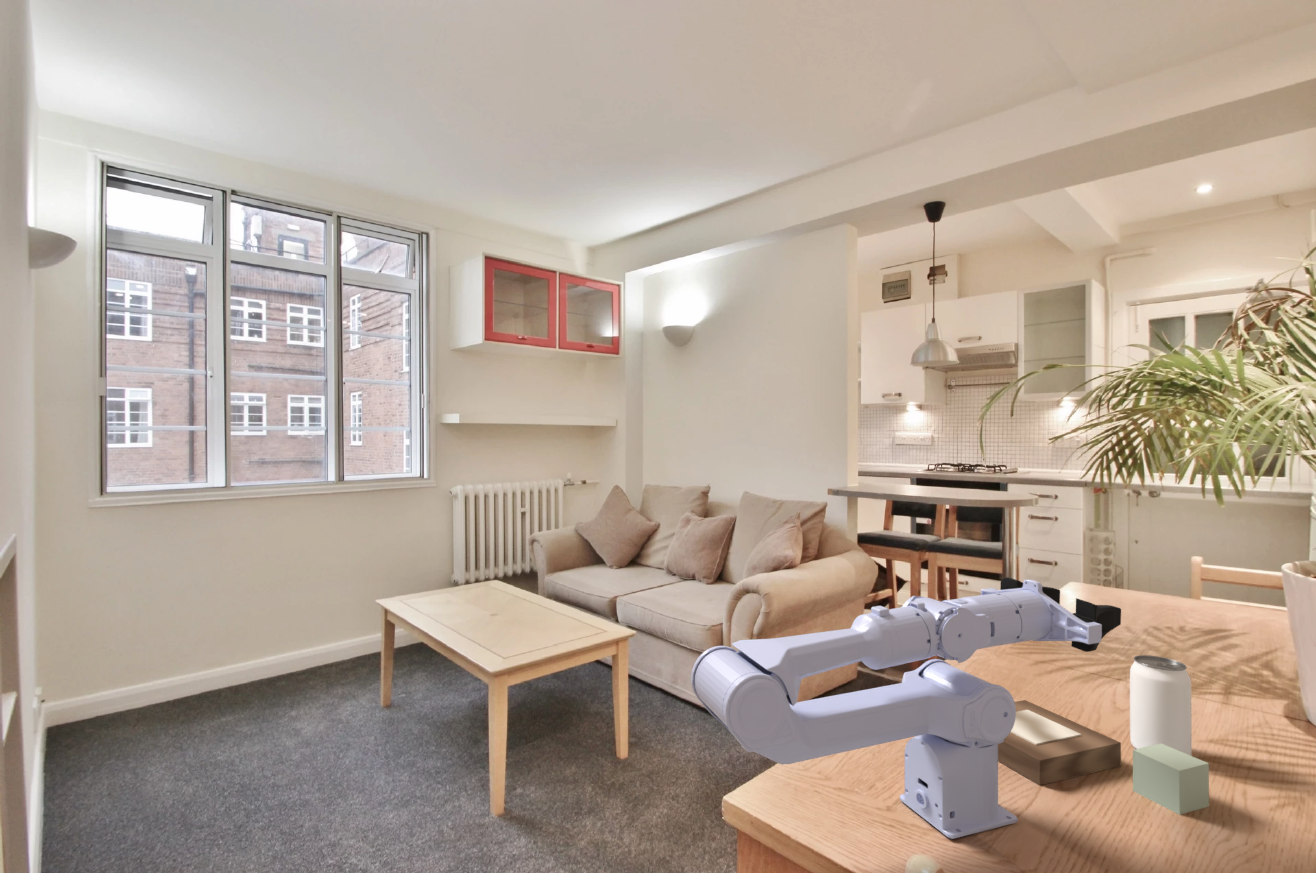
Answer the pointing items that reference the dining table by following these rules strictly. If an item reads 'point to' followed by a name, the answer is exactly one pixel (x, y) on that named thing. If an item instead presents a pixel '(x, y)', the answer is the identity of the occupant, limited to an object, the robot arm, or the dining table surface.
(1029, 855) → the dining table surface
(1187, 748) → the can
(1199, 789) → the cube
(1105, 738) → the base
